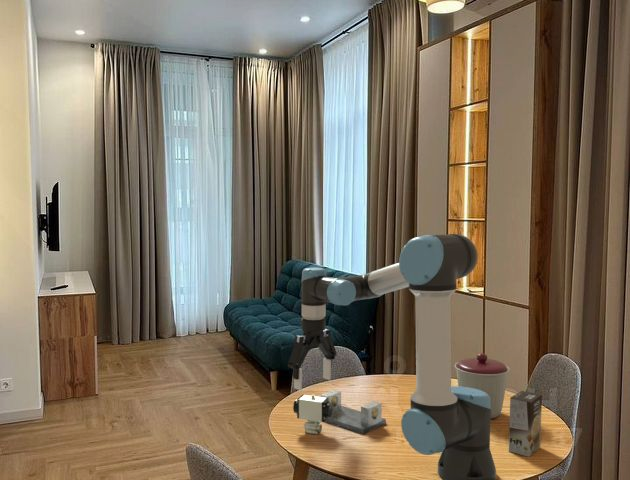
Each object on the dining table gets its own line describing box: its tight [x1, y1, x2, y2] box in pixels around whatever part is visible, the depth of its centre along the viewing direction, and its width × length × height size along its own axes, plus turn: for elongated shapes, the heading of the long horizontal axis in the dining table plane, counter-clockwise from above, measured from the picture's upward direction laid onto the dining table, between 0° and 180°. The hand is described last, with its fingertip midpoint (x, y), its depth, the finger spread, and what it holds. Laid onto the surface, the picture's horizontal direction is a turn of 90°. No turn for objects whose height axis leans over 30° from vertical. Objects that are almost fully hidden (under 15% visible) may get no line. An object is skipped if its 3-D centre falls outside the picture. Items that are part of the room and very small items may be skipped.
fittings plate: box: [320, 389, 387, 435], centre depth 198 cm, size 20×12×8 cm, turn 48°
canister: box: [454, 352, 511, 420], centre depth 204 cm, size 18×18×21 cm
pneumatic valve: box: [292, 394, 333, 435], centre depth 189 cm, size 6×12×12 cm, turn 69°
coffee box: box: [508, 390, 543, 457], centre depth 176 cm, size 9×6×16 cm
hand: (312, 383), depth 189 cm, fingers open, 13 cm apart
